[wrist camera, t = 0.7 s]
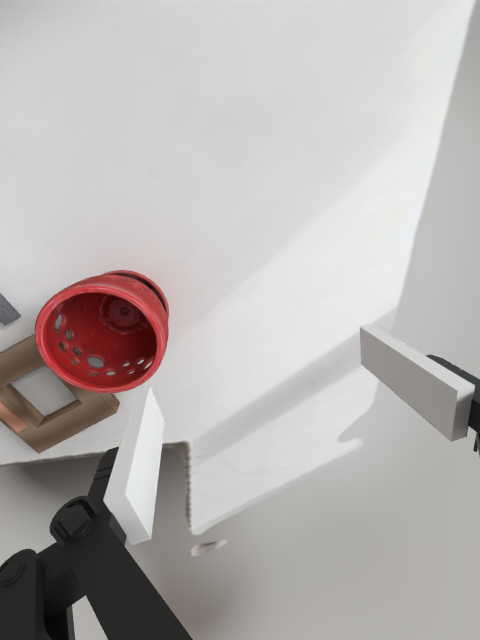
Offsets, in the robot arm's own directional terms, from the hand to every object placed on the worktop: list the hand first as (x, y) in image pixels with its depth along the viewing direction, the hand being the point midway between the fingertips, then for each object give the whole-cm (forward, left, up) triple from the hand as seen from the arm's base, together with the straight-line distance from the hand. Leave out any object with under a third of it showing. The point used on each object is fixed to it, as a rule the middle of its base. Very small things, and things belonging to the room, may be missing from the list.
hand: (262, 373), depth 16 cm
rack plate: (+2, -31, -26) cm, 41 cm away
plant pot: (-3, -14, -26) cm, 30 cm away
